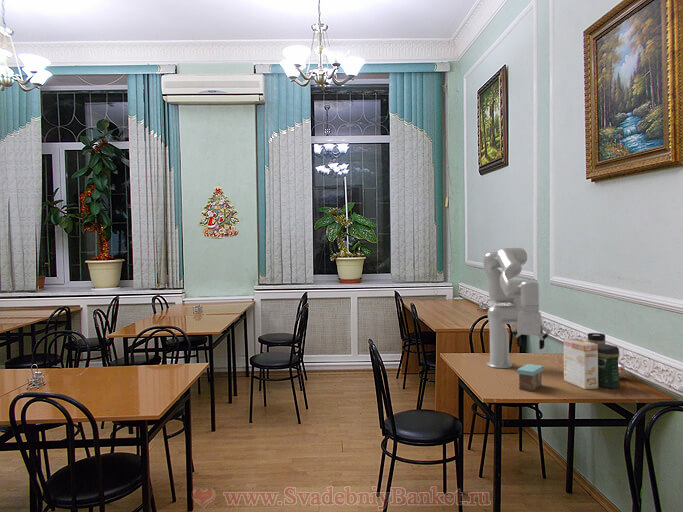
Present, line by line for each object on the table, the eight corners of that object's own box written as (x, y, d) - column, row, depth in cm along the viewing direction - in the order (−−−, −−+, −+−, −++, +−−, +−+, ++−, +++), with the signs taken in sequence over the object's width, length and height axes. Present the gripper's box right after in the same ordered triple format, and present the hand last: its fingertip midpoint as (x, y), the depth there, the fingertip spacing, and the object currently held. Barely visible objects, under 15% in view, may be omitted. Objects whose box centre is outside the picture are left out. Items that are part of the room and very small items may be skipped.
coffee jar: (623, 387, 218) (623, 345, 217) (610, 389, 215) (609, 347, 215) (604, 382, 227) (604, 341, 227) (591, 384, 224) (591, 343, 224)
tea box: (529, 383, 227) (529, 368, 227) (541, 385, 224) (541, 369, 224) (519, 389, 218) (519, 373, 218) (532, 391, 215) (532, 375, 215)
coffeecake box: (599, 388, 218) (598, 344, 217) (584, 389, 216) (583, 345, 216) (577, 379, 232) (576, 338, 232) (563, 380, 231) (562, 338, 231)
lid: (527, 369, 228) (527, 363, 228) (543, 371, 224) (543, 365, 224) (517, 375, 218) (517, 369, 218) (533, 377, 214) (533, 371, 214)
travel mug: (605, 374, 240) (604, 333, 240) (606, 378, 233) (605, 336, 233) (587, 373, 243) (587, 332, 243) (588, 376, 236) (587, 335, 236)
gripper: (507, 308, 223) (508, 346, 223) (547, 311, 212) (547, 351, 212) (513, 307, 229) (514, 344, 229) (552, 309, 218) (553, 348, 218)
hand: (530, 347), depth 221 cm, fingers open, 9 cm apart
